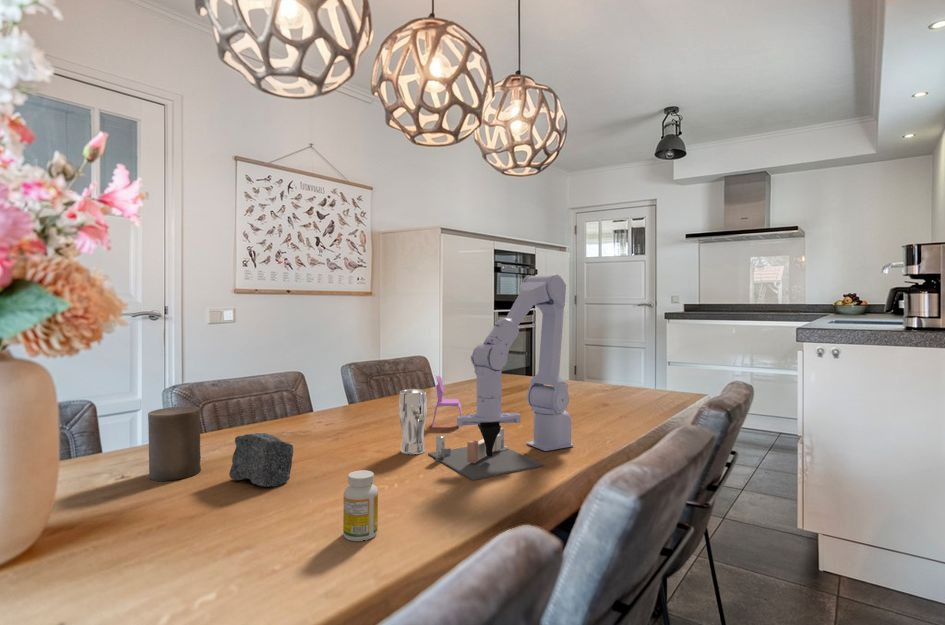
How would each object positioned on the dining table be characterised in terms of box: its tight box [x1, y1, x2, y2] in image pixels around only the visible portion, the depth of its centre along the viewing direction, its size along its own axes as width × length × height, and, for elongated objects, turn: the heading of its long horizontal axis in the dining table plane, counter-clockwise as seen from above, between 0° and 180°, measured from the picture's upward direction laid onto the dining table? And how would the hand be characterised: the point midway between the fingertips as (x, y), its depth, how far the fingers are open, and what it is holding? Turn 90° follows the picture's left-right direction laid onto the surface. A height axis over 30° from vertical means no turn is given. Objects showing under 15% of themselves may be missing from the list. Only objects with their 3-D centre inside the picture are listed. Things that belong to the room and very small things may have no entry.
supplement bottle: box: [342, 469, 379, 542], centre depth 81 cm, size 5×5×10 cm
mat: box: [428, 446, 546, 481], centre depth 120 cm, size 19×21×1 cm
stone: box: [228, 432, 294, 488], centre depth 105 cm, size 12×8×10 cm, turn 64°
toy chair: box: [431, 375, 463, 429], centre depth 154 cm, size 8×9×15 cm
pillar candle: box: [147, 403, 202, 482], centre depth 110 cm, size 10×10×15 cm
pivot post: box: [498, 426, 509, 451], centre depth 128 cm, size 4×4×6 cm
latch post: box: [435, 435, 452, 463], centre depth 121 cm, size 4×3×6 cm
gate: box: [466, 434, 501, 463], centre depth 121 cm, size 13×2×4 cm, turn 152°
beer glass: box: [398, 388, 428, 456], centre depth 127 cm, size 7×7×15 cm
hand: (488, 455), depth 118 cm, fingers closed
